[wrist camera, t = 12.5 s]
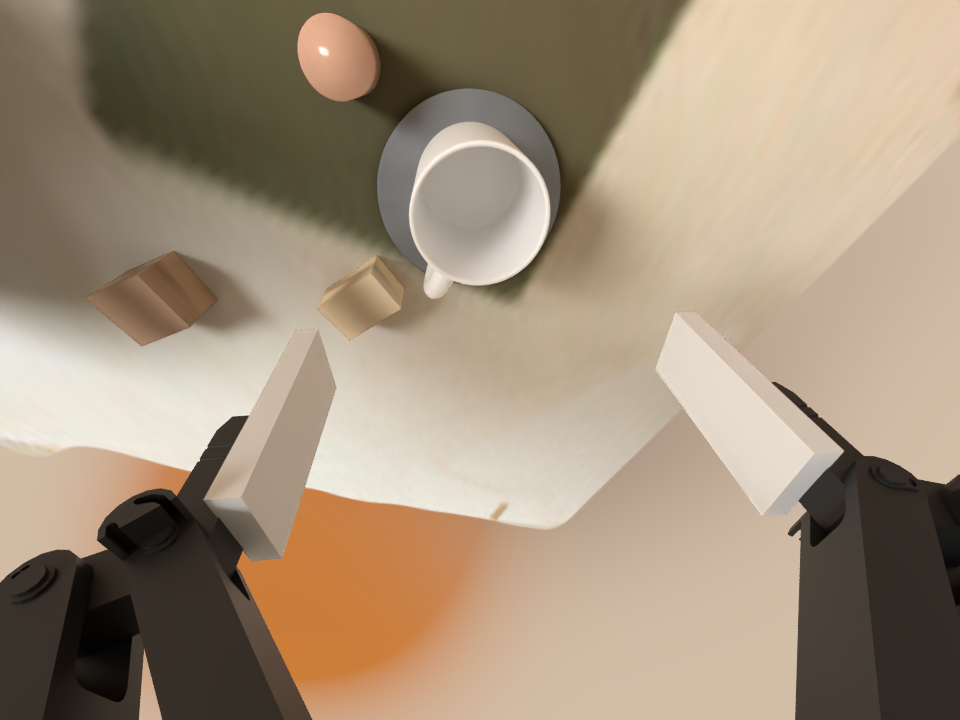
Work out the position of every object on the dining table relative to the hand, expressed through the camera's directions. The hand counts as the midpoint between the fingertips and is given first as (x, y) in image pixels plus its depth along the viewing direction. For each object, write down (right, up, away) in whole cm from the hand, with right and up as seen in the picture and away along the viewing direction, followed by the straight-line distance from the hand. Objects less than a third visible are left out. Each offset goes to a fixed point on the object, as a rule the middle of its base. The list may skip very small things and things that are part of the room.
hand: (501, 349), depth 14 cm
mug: (-3, +13, +17) cm, 21 cm away
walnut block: (-29, +6, +20) cm, 35 cm away
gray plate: (-2, +13, +17) cm, 22 cm away
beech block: (-12, +6, +22) cm, 26 cm away
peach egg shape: (-10, +20, +11) cm, 25 cm away
